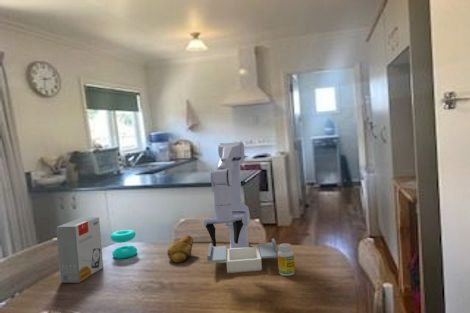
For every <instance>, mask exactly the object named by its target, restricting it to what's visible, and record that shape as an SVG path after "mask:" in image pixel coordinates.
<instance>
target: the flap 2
mask: <svg viewBox="0 0 470 313" xmlns="http://www.w3.org/2000/svg"><path fill="white" fill-rule="evenodd" d="M257 244H258V245H257V246H258V248H259V252H260V256H261V259H273V258H275V259H276V258H278V251H280V250H279V245H277V242H276V240H275V238H271V242H260V243H258V242H257Z"/></svg>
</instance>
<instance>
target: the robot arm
mask: <svg viewBox="0 0 470 313" xmlns="http://www.w3.org/2000/svg"><path fill="white" fill-rule="evenodd" d="M217 148H218V150H217V152H218V157H219V159H218V161H217V163H216V166H215V169H213V171H211V172H210V183H211V188H212V189H211V190H212V192H213V201H214V202H213V204H214V217H209V218H203V219H202V220H201V221H202V224H201V225H202V226H203V227H205V228H206V230H207V232H208V234H209V236H210V239H211V243H212V247H217V241H216V239H217V238H216V226H215V225H220V224H221V225H222V224H225V226H226V227H228V228H227V229H229V242H230V243H229V249H230V248H243V247H250V244H249V240H248V237H249V236H248V228H247V227H249V225H250V223H251V222H250V221H251V215H250V209H249V206H248V205H246V204H244V203H243V201H242V184H241V182H242V181H241V164H242V163H243V162H245V158H246V157H245V145H244V143H243V141H238V142H236V141H235V142H225V143H224V142H223V143H222V142H220V143H219V144H218V147H217Z"/></svg>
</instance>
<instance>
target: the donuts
mask: <svg viewBox="0 0 470 313" xmlns="http://www.w3.org/2000/svg"><path fill="white" fill-rule="evenodd" d="M135 237H136V232H135V231H134V230H133V229H120V230H115V231H113V233H111V235H110V239H111V241H112V242H114V243H126V242H129V241H132V240H133V239H134V238H135ZM137 253H138V249H137V247H136V246H135V245H131V244H124V245H120V246H117V247H115V248H114V249H113V250H112V253H111V254H112V257H113V258H115V259H119V260H121V259H128V258H131V257H134V256H135V255H136V254H137Z"/></svg>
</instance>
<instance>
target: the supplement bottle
mask: <svg viewBox="0 0 470 313" xmlns="http://www.w3.org/2000/svg"><path fill="white" fill-rule="evenodd" d="M278 249H279V251H278V257H277V263H278V264H277V265H278V273H279V275H281V276H284V277H285V276H286V277H288V276H292V275H294V274H295V271H296V270H295V269H296V268H295V256H294V255H295V253H294V251H293V250H292V245H291V243H285V242H284V243H279V245H278Z"/></svg>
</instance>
